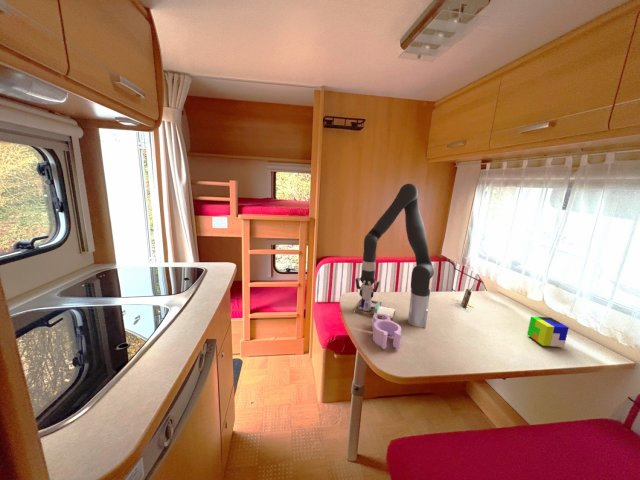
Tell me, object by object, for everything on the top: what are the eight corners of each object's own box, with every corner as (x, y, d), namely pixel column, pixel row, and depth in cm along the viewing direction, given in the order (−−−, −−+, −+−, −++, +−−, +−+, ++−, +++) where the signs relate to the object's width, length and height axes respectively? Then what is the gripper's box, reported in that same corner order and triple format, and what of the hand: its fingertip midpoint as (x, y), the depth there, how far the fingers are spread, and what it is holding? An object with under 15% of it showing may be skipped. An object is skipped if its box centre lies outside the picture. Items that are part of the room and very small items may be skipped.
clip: (366, 326, 136) (367, 313, 135) (390, 326, 137) (391, 313, 136) (377, 349, 117) (379, 334, 115) (404, 349, 118) (406, 334, 116)
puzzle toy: (564, 346, 126) (568, 327, 124) (542, 345, 126) (547, 326, 124) (546, 335, 135) (550, 317, 134) (527, 334, 136) (530, 316, 134)
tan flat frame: (396, 307, 160) (396, 305, 160) (393, 321, 143) (393, 318, 142) (361, 300, 168) (361, 298, 167) (354, 312, 150) (354, 310, 150)
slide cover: (394, 310, 152) (395, 305, 151) (392, 318, 143) (393, 312, 142) (376, 307, 155) (377, 301, 155) (374, 314, 146) (374, 308, 145)
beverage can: (371, 308, 154) (373, 283, 152) (369, 312, 149) (371, 286, 146) (361, 306, 156) (363, 282, 153) (359, 310, 151) (361, 285, 148)
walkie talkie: (476, 312, 159) (480, 283, 156) (452, 308, 163) (456, 280, 160) (471, 303, 171) (475, 277, 168) (449, 300, 175) (453, 274, 172)
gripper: (382, 268, 149) (379, 296, 152) (357, 265, 154) (355, 292, 157) (380, 272, 142) (377, 301, 145) (354, 268, 147) (352, 297, 150)
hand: (366, 296), depth 151 cm, fingers closed on beverage can, 5 cm apart
